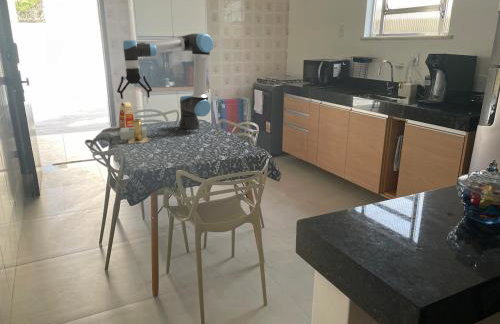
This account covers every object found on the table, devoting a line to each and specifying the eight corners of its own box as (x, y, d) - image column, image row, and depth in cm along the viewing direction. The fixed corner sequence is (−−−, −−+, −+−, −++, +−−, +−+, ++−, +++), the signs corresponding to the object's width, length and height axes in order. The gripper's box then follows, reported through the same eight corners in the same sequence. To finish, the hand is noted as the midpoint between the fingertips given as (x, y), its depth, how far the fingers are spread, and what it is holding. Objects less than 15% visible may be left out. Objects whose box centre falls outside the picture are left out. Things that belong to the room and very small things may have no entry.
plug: (142, 138, 241) (141, 118, 237) (142, 140, 236) (140, 120, 232) (134, 139, 240) (132, 119, 236) (134, 141, 235) (132, 120, 231)
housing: (146, 134, 256) (146, 126, 255) (146, 138, 245) (146, 130, 243) (121, 135, 252) (121, 128, 251) (120, 139, 241) (120, 132, 240)
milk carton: (126, 130, 265) (123, 102, 259) (118, 128, 271) (115, 100, 264) (137, 128, 272) (134, 100, 266) (129, 126, 277) (126, 99, 271)
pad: (148, 138, 244) (148, 137, 244) (148, 142, 235) (148, 141, 235) (128, 139, 241) (128, 138, 241) (128, 143, 232) (128, 142, 232)
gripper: (153, 66, 231) (156, 101, 238) (110, 67, 225) (114, 103, 232) (154, 67, 224) (157, 103, 231) (109, 68, 218) (113, 105, 225)
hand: (136, 103), depth 231 cm, fingers open, 13 cm apart
